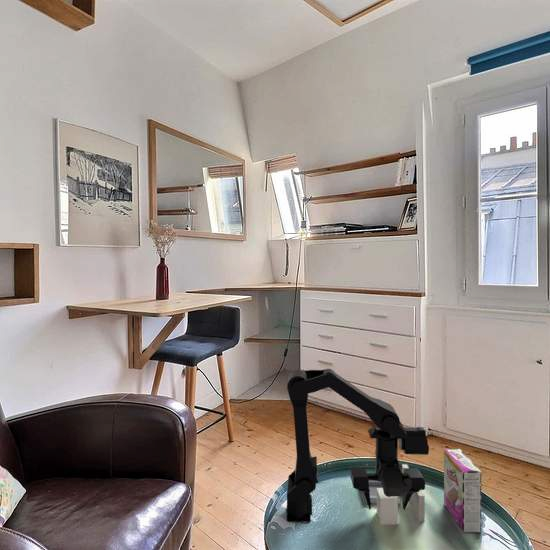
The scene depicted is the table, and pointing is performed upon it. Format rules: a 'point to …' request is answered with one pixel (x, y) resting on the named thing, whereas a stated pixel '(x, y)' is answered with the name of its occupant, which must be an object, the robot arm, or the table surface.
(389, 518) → the block
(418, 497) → the wall stub
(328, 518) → the table surface
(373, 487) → the frame
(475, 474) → the candy bar box
